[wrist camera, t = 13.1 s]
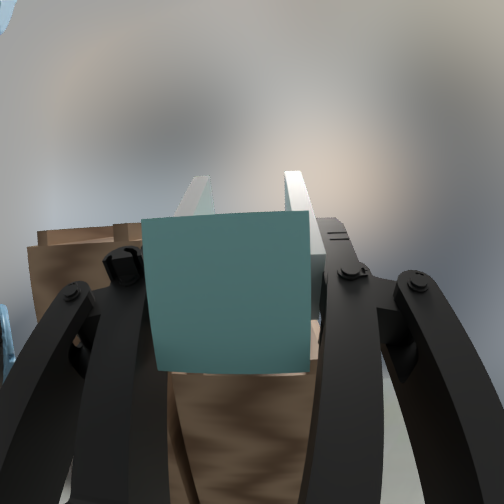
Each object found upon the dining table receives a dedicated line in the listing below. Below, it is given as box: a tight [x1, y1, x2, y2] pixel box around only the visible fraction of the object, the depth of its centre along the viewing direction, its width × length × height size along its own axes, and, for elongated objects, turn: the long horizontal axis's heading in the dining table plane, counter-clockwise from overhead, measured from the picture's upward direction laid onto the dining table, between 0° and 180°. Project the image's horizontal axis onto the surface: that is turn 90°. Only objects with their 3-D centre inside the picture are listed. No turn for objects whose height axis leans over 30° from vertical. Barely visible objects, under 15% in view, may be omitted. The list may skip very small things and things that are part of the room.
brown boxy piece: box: [27, 223, 320, 504], centre depth 24 cm, size 20×14×31 cm
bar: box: [141, 210, 311, 374], centre depth 18 cm, size 24×4×4 cm, turn 177°
